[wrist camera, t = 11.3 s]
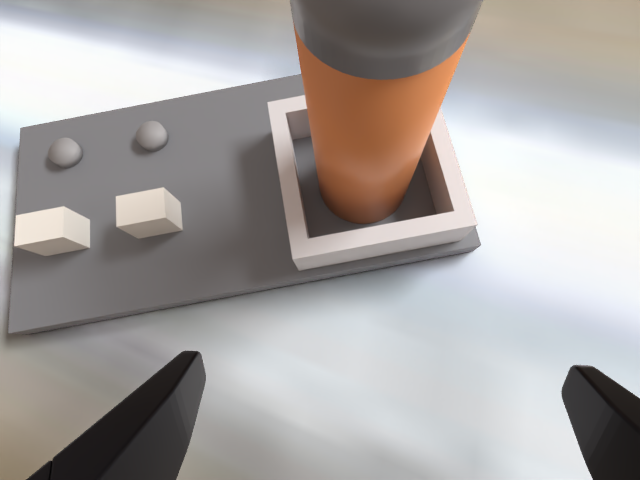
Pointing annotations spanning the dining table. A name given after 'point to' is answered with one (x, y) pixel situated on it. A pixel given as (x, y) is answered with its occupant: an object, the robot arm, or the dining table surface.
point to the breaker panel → (203, 208)
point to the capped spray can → (375, 92)
